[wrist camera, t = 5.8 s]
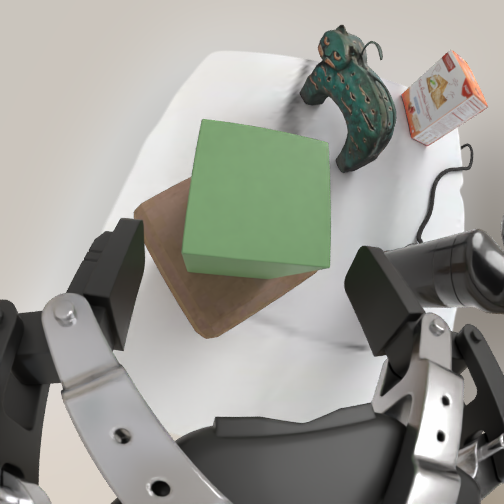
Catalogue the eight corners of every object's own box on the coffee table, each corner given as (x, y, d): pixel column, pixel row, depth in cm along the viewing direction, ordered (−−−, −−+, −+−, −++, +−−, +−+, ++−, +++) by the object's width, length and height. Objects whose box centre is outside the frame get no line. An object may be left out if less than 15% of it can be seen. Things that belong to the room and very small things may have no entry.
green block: (273, 202, 18) (328, 142, 10) (268, 279, 17) (330, 267, 9) (196, 192, 17) (202, 118, 9) (187, 271, 16) (181, 253, 8)
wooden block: (198, 317, 35) (205, 348, 16) (160, 252, 35) (124, 206, 16) (262, 278, 37) (333, 263, 18) (224, 215, 38) (257, 141, 18)
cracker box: (399, 94, 51) (450, 47, 31) (416, 103, 52) (467, 61, 32) (409, 138, 49) (473, 92, 28) (427, 147, 50) (490, 107, 30)
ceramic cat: (290, 86, 44) (334, 8, 24) (318, 85, 45) (366, 16, 26) (335, 179, 42) (415, 116, 23) (363, 173, 44) (442, 118, 25)
